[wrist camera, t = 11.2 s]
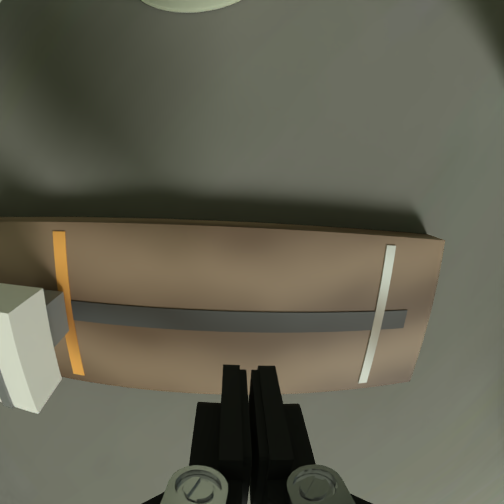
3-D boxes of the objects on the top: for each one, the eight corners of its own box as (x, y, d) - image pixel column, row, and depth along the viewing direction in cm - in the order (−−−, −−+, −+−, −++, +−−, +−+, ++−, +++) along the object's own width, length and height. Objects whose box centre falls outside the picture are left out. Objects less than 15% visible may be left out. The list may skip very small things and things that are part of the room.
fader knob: (20, 265, 15) (-48, 304, 9) (69, 269, 15) (5, 315, 9) (33, 342, 16) (-17, 398, 10) (81, 351, 16) (36, 416, 10)
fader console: (-16, 217, 16) (-34, 222, 14) (427, 234, 19) (445, 240, 17) (5, 347, 18) (-8, 360, 16) (397, 366, 21) (410, 381, 19)
